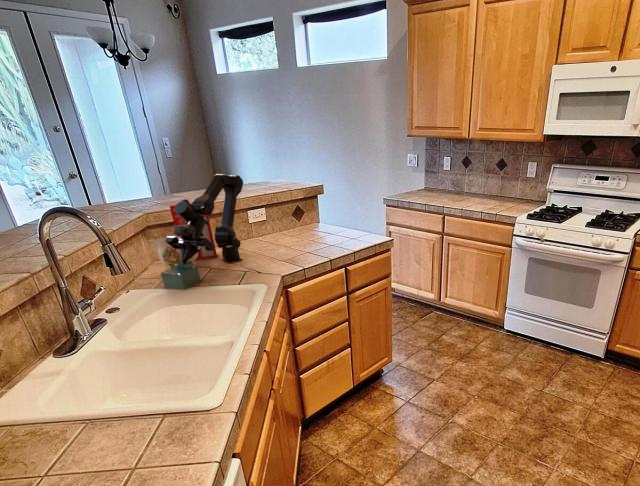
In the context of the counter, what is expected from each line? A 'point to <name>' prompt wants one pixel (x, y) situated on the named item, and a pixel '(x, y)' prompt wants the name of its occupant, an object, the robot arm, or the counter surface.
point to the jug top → (181, 276)
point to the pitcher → (168, 253)
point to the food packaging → (207, 234)
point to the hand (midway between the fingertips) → (183, 262)
